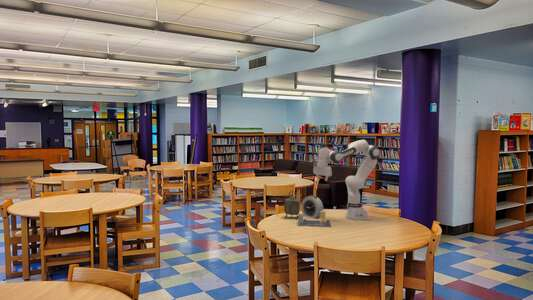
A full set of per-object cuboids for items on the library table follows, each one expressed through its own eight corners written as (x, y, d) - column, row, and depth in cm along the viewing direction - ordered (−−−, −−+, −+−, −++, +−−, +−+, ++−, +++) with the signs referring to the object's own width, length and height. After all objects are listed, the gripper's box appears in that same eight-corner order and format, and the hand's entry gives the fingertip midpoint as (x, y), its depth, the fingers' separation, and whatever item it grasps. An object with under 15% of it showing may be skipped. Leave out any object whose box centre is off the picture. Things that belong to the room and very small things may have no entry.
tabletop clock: (299, 217, 363) (300, 190, 362) (299, 219, 354) (300, 192, 353) (284, 216, 365) (284, 190, 363) (283, 218, 356) (284, 191, 354)
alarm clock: (300, 214, 373) (301, 194, 372) (306, 213, 378) (306, 193, 377) (318, 218, 358) (318, 197, 357) (323, 217, 363) (323, 196, 362)
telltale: (322, 223, 332) (322, 220, 332) (322, 224, 330) (322, 221, 330) (320, 223, 333) (320, 220, 332) (320, 224, 331) (320, 221, 330)
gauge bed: (329, 222, 345) (330, 214, 345) (331, 227, 329) (331, 218, 329) (298, 221, 347) (298, 213, 347) (298, 225, 331) (298, 217, 331)
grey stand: (325, 221, 341) (326, 210, 340) (326, 224, 330) (327, 213, 329) (305, 221, 342) (305, 209, 342) (305, 224, 331) (305, 212, 331)
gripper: (333, 166, 345) (333, 181, 346) (317, 163, 361) (316, 178, 362) (328, 166, 341) (328, 181, 342) (312, 164, 357) (311, 178, 358)
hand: (322, 180), depth 352 cm, fingers open, 8 cm apart
